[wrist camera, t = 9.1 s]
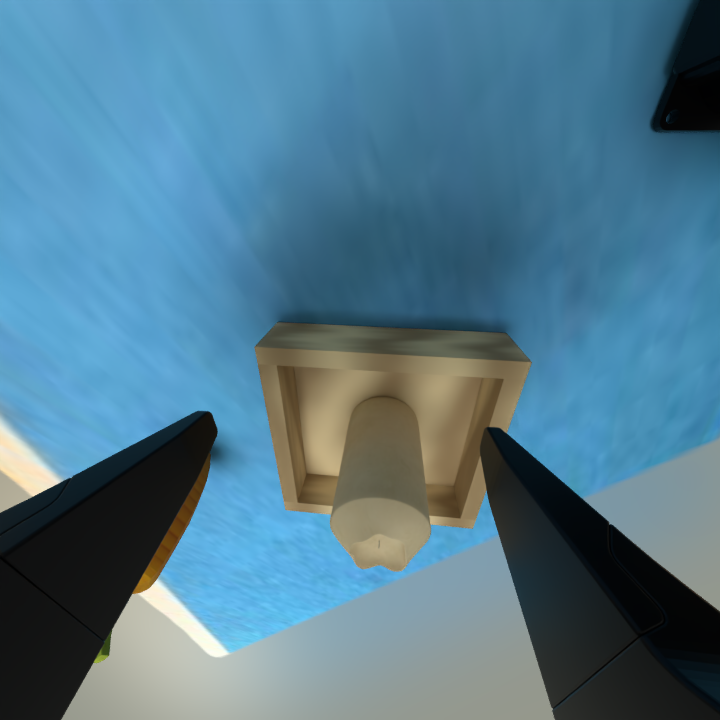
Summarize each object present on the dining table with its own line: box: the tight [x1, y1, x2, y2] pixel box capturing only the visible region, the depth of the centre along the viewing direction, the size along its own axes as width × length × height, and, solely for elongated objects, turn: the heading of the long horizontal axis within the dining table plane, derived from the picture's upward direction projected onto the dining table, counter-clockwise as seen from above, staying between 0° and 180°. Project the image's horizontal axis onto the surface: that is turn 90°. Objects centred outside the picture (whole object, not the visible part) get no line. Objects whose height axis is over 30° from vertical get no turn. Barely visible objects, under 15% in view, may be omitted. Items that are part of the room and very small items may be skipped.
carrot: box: [94, 453, 211, 663], centre depth 22 cm, size 5×5×15 cm
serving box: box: [255, 322, 532, 529], centre depth 22 cm, size 16×16×4 cm
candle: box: [330, 397, 431, 572], centre depth 19 cm, size 6×6×10 cm
